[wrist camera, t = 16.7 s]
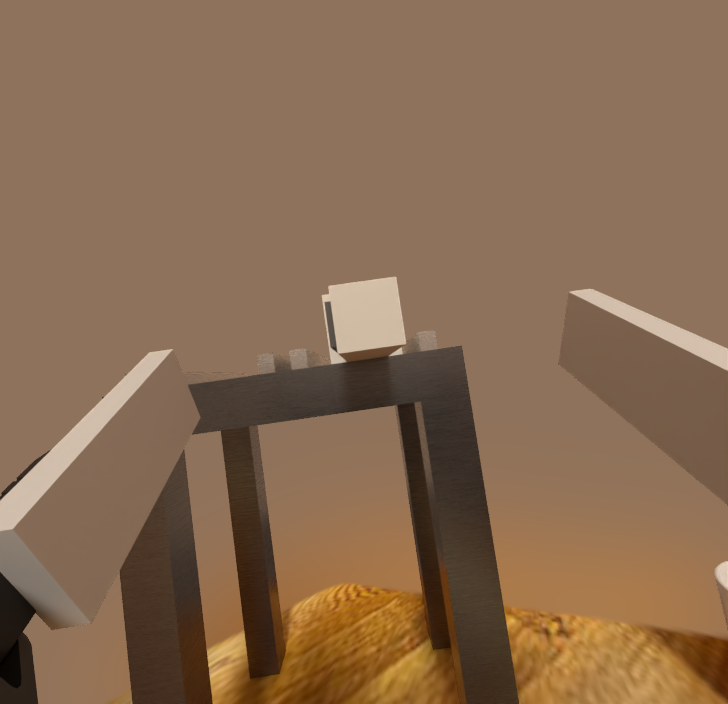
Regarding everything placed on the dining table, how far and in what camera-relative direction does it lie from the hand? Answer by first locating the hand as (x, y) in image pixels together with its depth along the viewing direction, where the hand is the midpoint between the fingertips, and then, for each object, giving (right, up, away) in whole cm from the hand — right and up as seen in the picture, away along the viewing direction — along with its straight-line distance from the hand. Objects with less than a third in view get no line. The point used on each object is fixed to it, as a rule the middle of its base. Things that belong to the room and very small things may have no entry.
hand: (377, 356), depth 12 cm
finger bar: (0, 0, +10) cm, 10 cm away
